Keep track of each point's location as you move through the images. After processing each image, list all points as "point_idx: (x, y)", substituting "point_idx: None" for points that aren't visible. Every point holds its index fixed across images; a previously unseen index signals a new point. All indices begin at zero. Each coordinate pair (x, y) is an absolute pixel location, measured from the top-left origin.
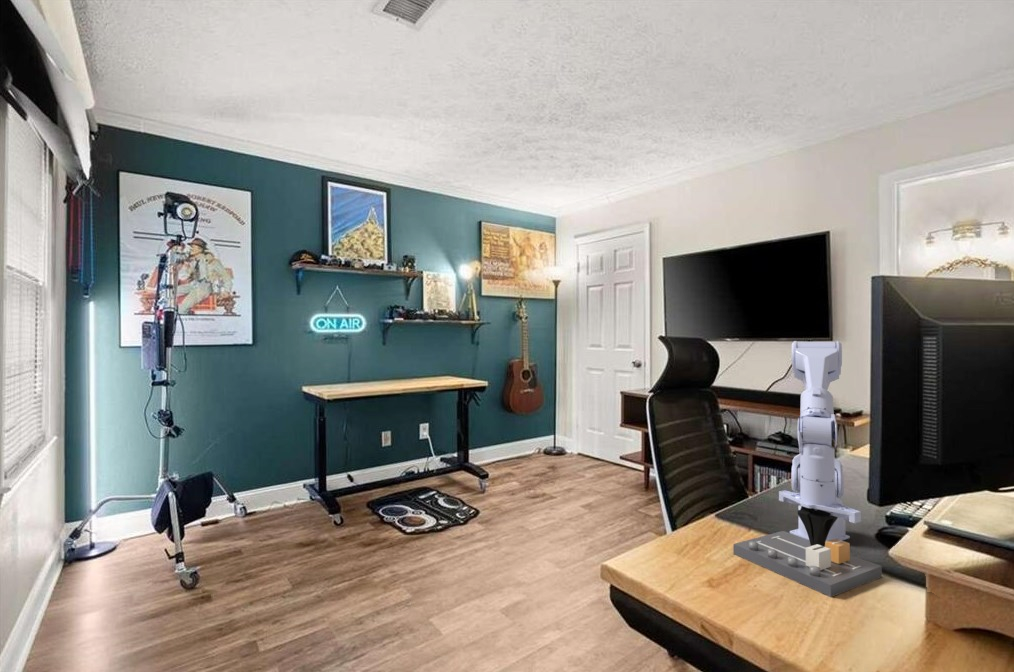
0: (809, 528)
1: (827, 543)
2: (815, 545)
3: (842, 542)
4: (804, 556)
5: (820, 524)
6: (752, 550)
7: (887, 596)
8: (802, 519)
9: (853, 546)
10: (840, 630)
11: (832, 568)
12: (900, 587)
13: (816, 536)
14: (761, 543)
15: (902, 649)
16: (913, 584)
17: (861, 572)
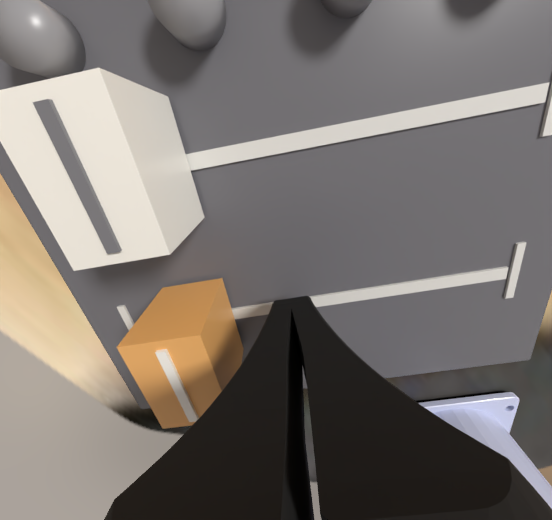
0: (319, 366)
1: (186, 333)
2: (145, 216)
3: (177, 408)
4: (282, 212)
5: (175, 451)
6: None
7: (36, 290)
8: (405, 414)
9: None
10: None
11: None
12: (100, 369)
13: (266, 343)
14: (526, 104)
15: None
16: (117, 408)
17: (87, 310)
